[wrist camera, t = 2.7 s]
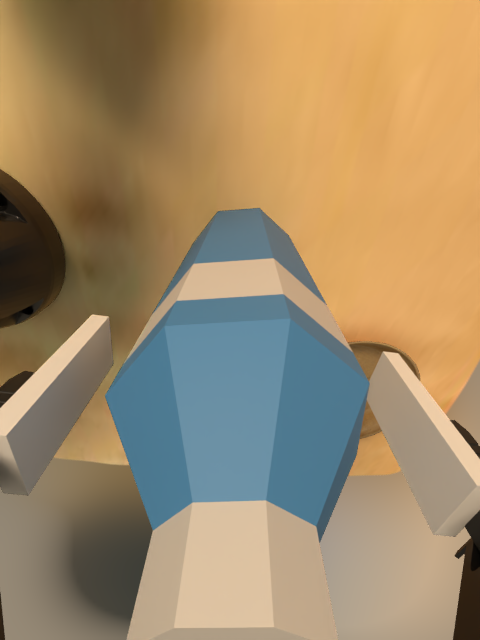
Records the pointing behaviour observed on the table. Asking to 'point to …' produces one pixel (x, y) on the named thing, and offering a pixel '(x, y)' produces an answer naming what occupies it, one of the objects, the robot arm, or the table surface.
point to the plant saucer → (368, 360)
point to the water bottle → (238, 439)
